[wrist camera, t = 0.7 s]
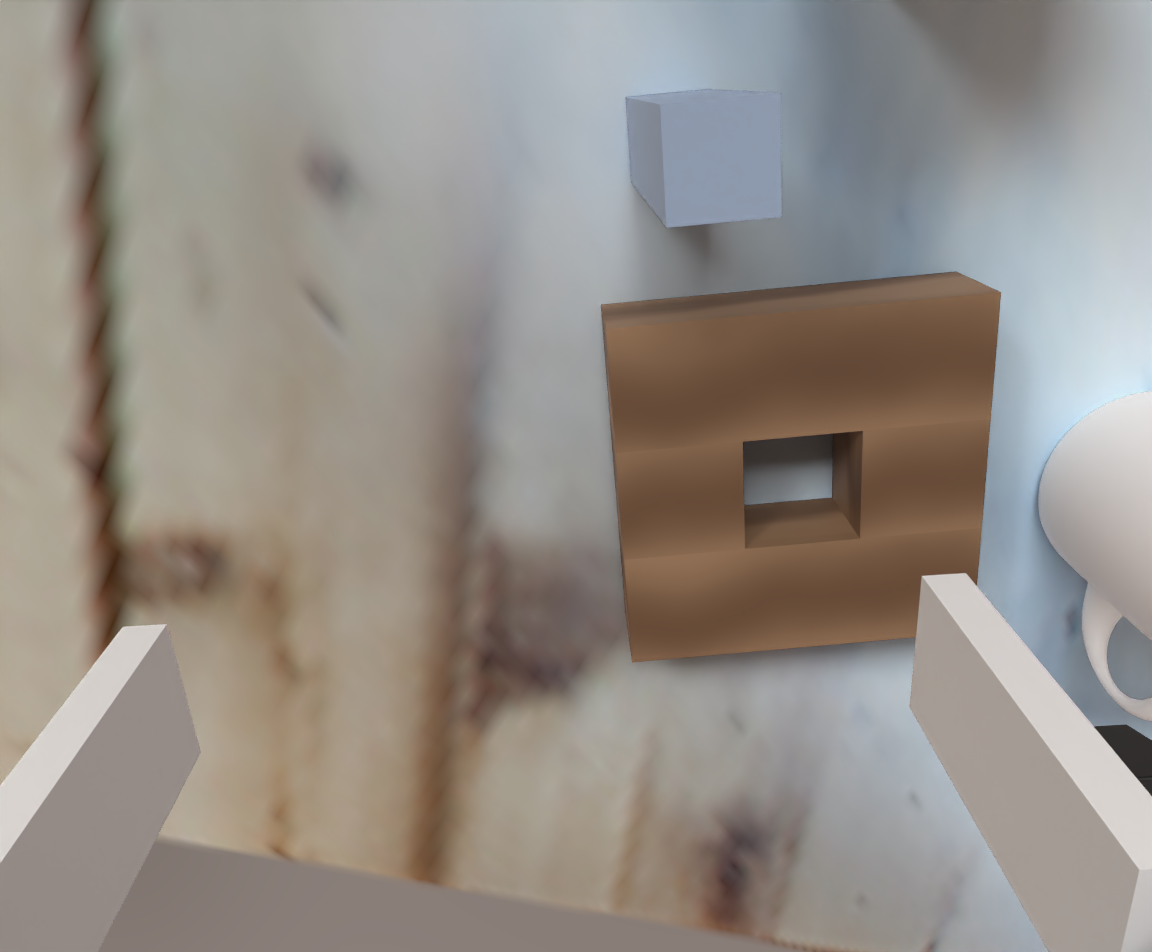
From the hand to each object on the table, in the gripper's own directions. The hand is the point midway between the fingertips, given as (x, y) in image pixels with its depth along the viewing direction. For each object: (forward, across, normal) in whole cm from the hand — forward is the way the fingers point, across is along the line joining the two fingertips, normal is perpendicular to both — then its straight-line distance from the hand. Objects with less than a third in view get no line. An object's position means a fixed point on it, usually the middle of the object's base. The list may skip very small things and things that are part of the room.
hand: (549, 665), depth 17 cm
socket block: (+23, +9, -6) cm, 25 cm away
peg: (+23, +5, +7) cm, 25 cm away
